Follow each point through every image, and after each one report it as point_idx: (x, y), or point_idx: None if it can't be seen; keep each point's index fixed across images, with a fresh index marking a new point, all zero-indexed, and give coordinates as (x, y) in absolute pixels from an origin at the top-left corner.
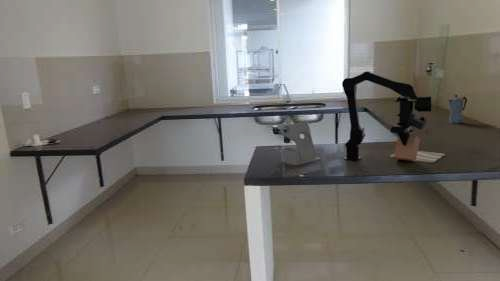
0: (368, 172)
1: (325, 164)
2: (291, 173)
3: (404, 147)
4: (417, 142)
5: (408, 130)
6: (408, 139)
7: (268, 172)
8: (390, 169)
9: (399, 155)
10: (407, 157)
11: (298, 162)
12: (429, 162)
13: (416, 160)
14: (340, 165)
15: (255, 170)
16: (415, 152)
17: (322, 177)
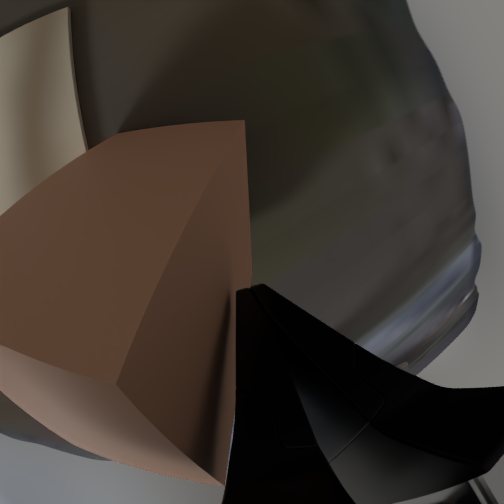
0: (447, 213)
1: (390, 346)
2: (456, 315)
3: (235, 277)
4: (16, 243)
5: (498, 469)
6: (207, 366)
7: (450, 335)
8: (398, 166)
9: (249, 243)
10: (244, 164)
11: (401, 368)
12: (69, 32)
13: (86, 144)
14: (392, 323)
15: (440, 351)
16: (116, 156)
17: (478, 263)
